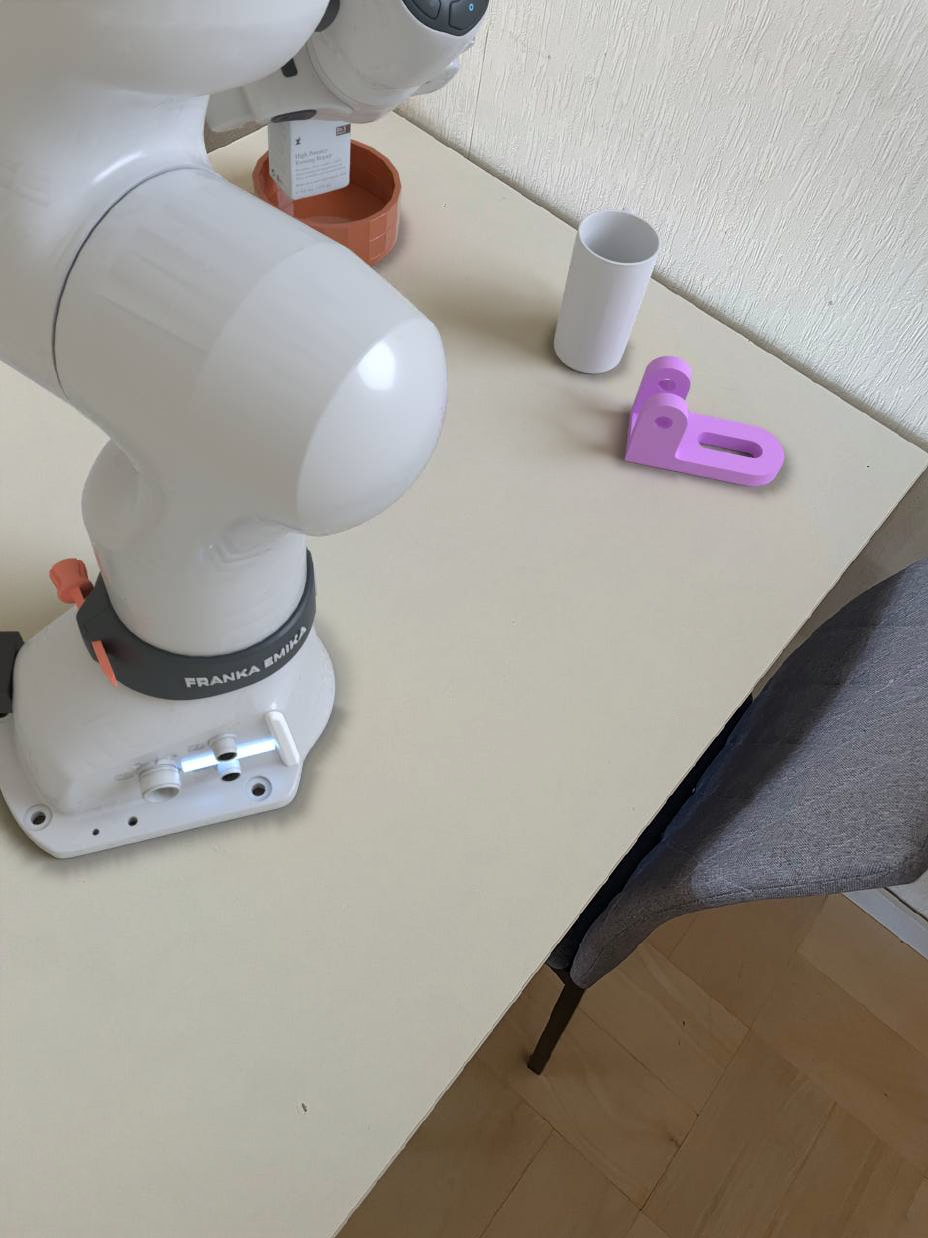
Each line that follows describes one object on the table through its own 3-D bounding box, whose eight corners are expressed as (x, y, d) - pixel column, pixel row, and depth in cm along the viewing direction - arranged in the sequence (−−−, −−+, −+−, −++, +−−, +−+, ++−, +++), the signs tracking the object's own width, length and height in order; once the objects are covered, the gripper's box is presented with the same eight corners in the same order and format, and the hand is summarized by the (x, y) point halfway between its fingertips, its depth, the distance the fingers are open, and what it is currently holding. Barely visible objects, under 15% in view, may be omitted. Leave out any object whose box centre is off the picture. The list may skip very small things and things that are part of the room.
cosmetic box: (291, 203, 89) (287, 66, 79) (266, 174, 90) (259, 36, 80) (353, 185, 91) (356, 49, 81) (328, 157, 93) (328, 21, 83)
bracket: (624, 460, 85) (646, 401, 79) (630, 412, 88) (651, 351, 82) (778, 492, 85) (811, 435, 79) (778, 442, 88) (810, 384, 82)
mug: (616, 385, 89) (652, 274, 79) (542, 364, 89) (569, 250, 79) (637, 312, 94) (674, 199, 84) (568, 292, 95) (596, 177, 85)
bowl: (289, 288, 91) (287, 241, 87) (234, 199, 97) (230, 151, 92) (421, 254, 95) (425, 208, 91) (361, 170, 101) (363, 123, 97)
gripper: (474, -16, 76) (406, 46, 88) (209, 23, 69) (176, 84, 81) (494, 76, 78) (425, 124, 90) (238, 123, 71) (201, 168, 83)
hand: (305, 105), depth 85 cm, fingers closed on cosmetic box, 6 cm apart
